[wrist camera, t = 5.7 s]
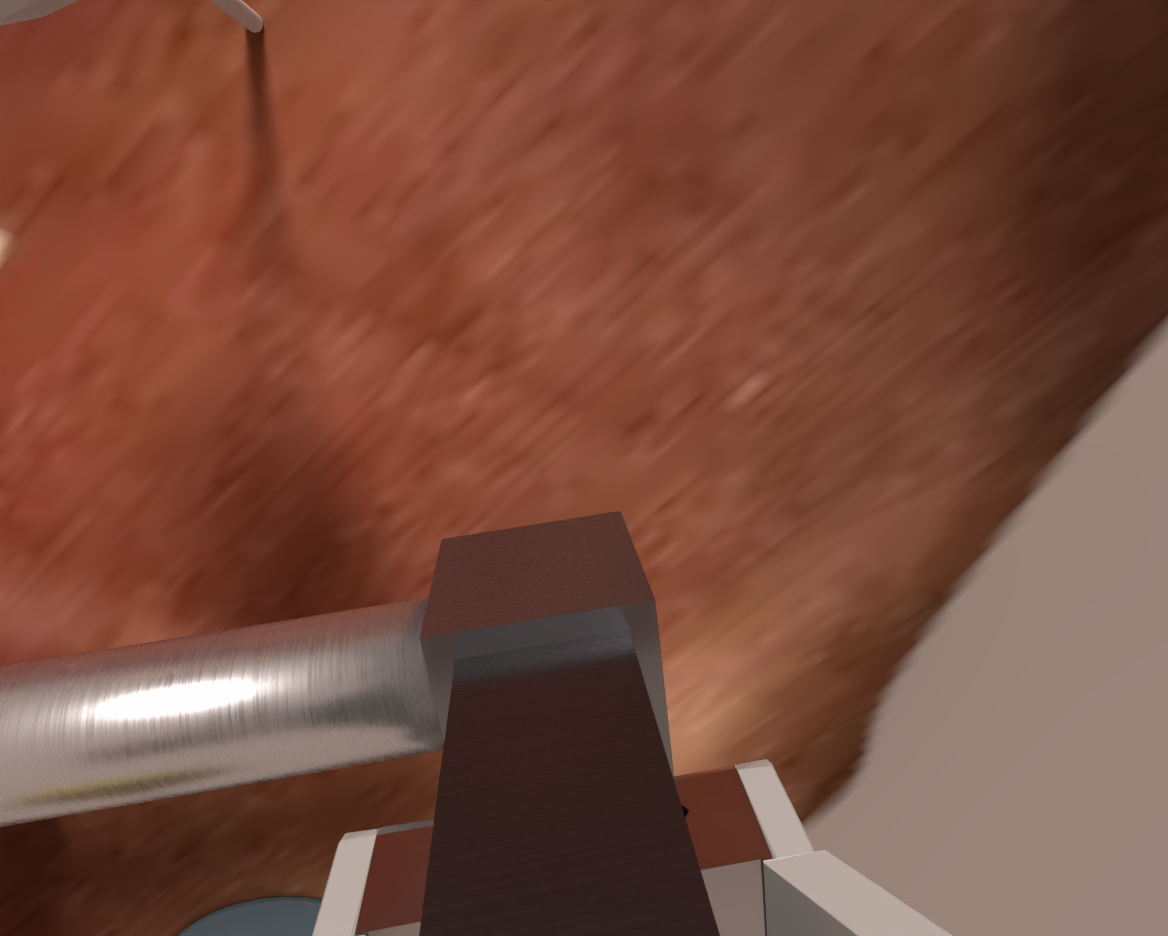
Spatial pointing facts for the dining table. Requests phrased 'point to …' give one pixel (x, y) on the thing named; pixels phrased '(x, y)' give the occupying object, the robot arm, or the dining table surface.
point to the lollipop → (15, 3)
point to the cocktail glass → (260, 918)
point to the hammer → (415, 729)
